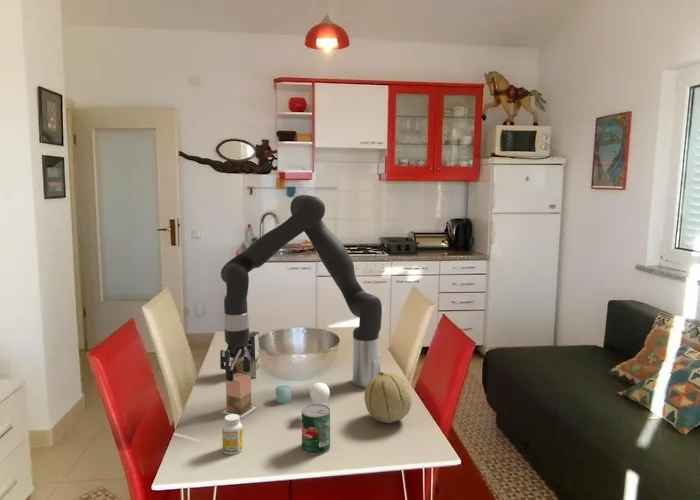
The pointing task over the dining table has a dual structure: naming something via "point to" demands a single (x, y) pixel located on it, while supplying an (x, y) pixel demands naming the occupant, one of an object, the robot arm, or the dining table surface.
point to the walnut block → (238, 404)
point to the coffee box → (254, 360)
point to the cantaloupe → (388, 398)
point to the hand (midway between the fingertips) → (238, 376)
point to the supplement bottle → (232, 434)
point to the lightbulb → (319, 393)
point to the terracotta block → (239, 385)
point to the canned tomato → (315, 429)
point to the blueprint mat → (244, 415)
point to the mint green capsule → (283, 394)
